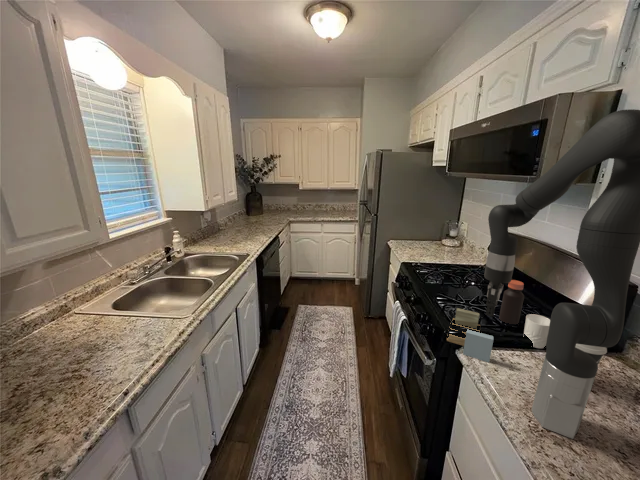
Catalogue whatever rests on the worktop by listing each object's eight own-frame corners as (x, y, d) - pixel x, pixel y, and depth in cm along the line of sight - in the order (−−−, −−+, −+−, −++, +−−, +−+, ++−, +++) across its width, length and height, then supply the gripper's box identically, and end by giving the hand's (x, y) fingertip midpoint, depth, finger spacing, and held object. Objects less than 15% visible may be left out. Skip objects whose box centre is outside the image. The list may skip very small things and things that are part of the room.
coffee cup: (563, 364, 88) (574, 325, 84) (601, 385, 80) (615, 343, 76) (546, 373, 85) (557, 332, 81) (584, 395, 76) (598, 352, 72)
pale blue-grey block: (489, 362, 90) (493, 340, 87) (462, 354, 94) (466, 332, 91) (489, 358, 92) (493, 336, 89) (463, 350, 96) (466, 329, 93)
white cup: (538, 337, 103) (543, 314, 100) (553, 350, 95) (559, 326, 93) (516, 336, 104) (521, 313, 101) (530, 349, 96) (535, 325, 94)
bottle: (504, 320, 114) (513, 277, 109) (521, 328, 108) (531, 284, 103) (494, 323, 112) (502, 280, 107) (510, 332, 106) (519, 287, 101)
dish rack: (479, 350, 95) (483, 330, 93) (446, 340, 101) (449, 321, 99) (480, 331, 107) (483, 312, 105) (450, 323, 113) (453, 305, 110)
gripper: (511, 275, 78) (502, 323, 82) (515, 262, 88) (506, 305, 92) (482, 269, 82) (474, 315, 87) (489, 257, 93) (482, 299, 97)
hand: (491, 310), depth 89 cm, fingers open, 8 cm apart
